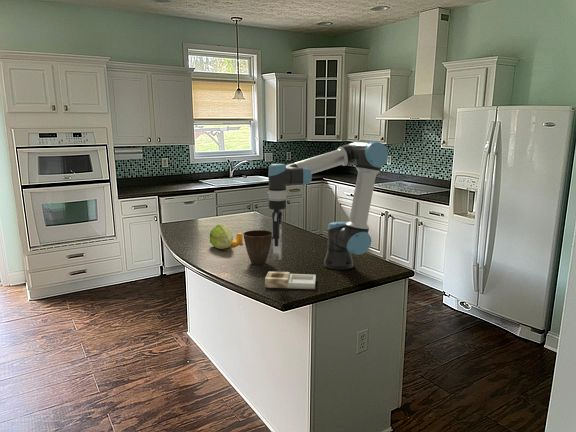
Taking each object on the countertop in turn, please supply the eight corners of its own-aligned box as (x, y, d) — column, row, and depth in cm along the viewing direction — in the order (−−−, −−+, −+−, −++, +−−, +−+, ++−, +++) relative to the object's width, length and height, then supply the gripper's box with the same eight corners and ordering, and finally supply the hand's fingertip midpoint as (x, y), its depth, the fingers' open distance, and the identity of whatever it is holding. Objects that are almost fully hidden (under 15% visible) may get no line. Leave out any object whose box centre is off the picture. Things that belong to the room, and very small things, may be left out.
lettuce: (219, 256, 236) (216, 232, 233) (207, 246, 255) (205, 224, 252) (241, 252, 241) (239, 228, 238) (228, 242, 261) (226, 221, 257)
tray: (315, 279, 199) (315, 274, 198) (314, 289, 187) (314, 283, 186) (290, 278, 200) (290, 273, 199) (287, 288, 188) (287, 282, 188)
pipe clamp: (229, 248, 252) (229, 237, 251) (224, 247, 255) (224, 236, 254) (244, 244, 261) (244, 233, 260) (239, 243, 264) (239, 232, 262)
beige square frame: (289, 280, 198) (289, 272, 197) (287, 288, 188) (287, 279, 187) (268, 279, 199) (268, 271, 198) (265, 287, 189) (264, 278, 188)
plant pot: (238, 264, 222) (237, 234, 218) (255, 257, 234) (254, 228, 231) (261, 268, 214) (261, 238, 211) (277, 261, 226) (277, 232, 223)
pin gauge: (282, 257, 193) (282, 223, 190) (281, 260, 189) (281, 225, 186) (273, 257, 193) (273, 223, 190) (272, 260, 189) (272, 225, 186)
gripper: (271, 196, 194) (271, 246, 199) (265, 202, 178) (266, 256, 182) (287, 196, 194) (287, 246, 198) (283, 203, 177) (283, 257, 182)
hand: (277, 251), depth 190 cm, fingers closed on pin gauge, 4 cm apart
